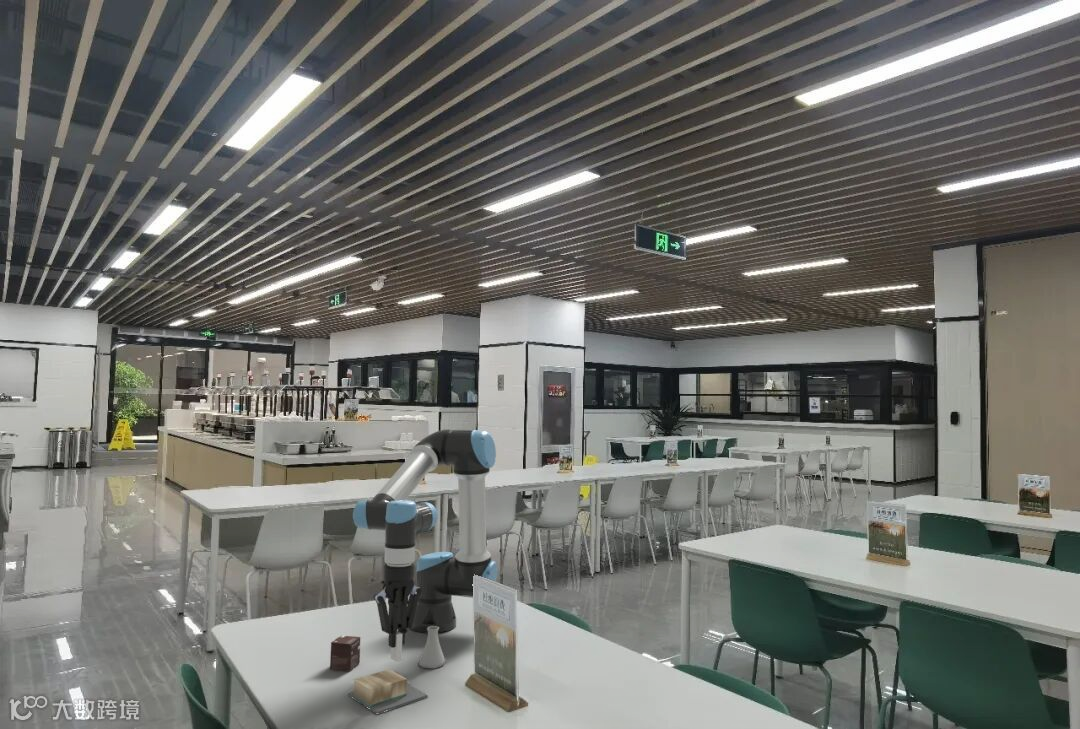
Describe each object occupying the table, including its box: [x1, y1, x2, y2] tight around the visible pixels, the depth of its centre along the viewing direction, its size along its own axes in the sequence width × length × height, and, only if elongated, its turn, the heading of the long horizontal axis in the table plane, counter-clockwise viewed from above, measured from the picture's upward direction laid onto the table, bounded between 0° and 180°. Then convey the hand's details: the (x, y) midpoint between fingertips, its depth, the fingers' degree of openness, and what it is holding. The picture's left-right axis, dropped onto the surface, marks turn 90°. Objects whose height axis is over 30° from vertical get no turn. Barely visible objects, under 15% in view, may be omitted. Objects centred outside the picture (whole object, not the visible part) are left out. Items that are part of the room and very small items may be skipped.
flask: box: [418, 626, 446, 670], centre depth 185 cm, size 7×7×10 cm
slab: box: [353, 668, 408, 707], centre depth 162 cm, size 4×8×10 cm
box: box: [329, 635, 361, 672], centre depth 181 cm, size 6×6×7 cm
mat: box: [347, 682, 429, 714], centre depth 163 cm, size 14×14×1 cm
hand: (396, 659), depth 165 cm, fingers closed
